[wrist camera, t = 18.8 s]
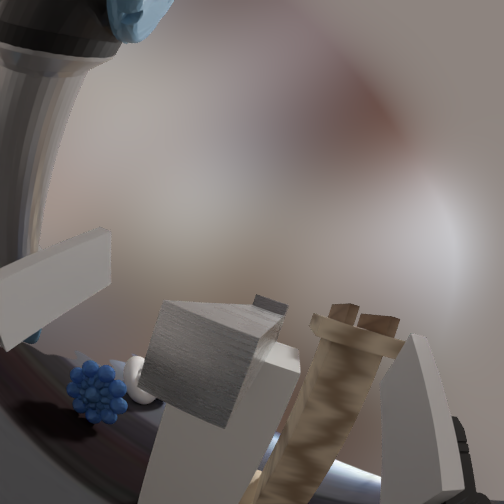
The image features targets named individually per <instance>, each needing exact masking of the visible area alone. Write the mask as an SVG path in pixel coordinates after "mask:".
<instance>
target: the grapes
mask: <svg viewBox="0 0 504 504" xmlns="http://www.w3.org/2000/svg"><path fill="white" fill-rule="evenodd" d="M70 378H71V380H72V381H73V382H71V383H69V384H68V385H67V393H68V395H69V396H71V397H73V398H76V399H74V400H73V403H72V404H73V408H74V410H75V411H76V412H78V413H85V412H86V413H85V416H86V419H87V420H88V421H89V422H91V423H93V424H96V423H99V422H100V421H101V420H102V421H103V422H104V423H106V424H113V423H115V422H116V420H117V414H123V413H124V412H126V410H127V407H128V406H127V402H126V401H125V400H124V399H123V398H121V397H123V396H124V395H125V394H126V392H127V386H126V385H125V383H124V382H123V381H121V380H114V378H115V371H114V369H113V368H112V367H111V366H109V365H103V366H101V367H100V368H99V366H98V365H97V363H96V362H94V361H92V360H88V361H86V362H85V363H83V365H82V368H80V367H76V368H74V369H72V370H71V372H70Z"/></svg>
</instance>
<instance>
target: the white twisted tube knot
mask: <svg viewBox="0 0 504 504" xmlns="http://www.w3.org/2000/svg"><path fill="white" fill-rule="evenodd" d="M144 360H145V359H143V358H142V357H140V356H133V357H131V358H130V359H129V360H128V361H127V362H126V365H125V368H124V374H123V377H124V383H125V385H126V386H127V393H128V395H129V396H130V397H131V399H132V400H134V401H135V402H137V403H139V404H149V403H151V402H152V401H154V400H155V399H156V397H154V396H153V395H151V394H149V393H147V392H145V391H144V390H143V391H142V390H141V389H140V388H138V387H137V385H138V382H139V378H140V374H141V371H142V367H143V364H144ZM157 399H158V398H157ZM159 400H160V399H159Z"/></svg>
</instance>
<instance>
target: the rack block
mask: <svg viewBox="0 0 504 504" xmlns="http://www.w3.org/2000/svg"><path fill="white" fill-rule="evenodd" d="M299 376H300V359H299V349H297V348H293V347H290V346H288V345H285V344H282V343H279V342H275V344H274V346H273V348H272V349H271V351H270V353H269V355H268V357H267V358H266V360H265V362H264V364H263V366H262V367H261V369H260V371H259V373H258V374H257V376H256V378H255V380H254V381H253V383H252V385H251V386H250V388H249V390H248V392H247V393H246V395H245V397H244V398H243V400H242V402H241V403H240V405H239V407H238V408H237V410H236V412H235V413H234V415H233V416H232V418H231V420H230V421H229V423H228V424H227V426H226V428H225V429H223V428H221V427H218V426H216V425H213V424H211V423H209V422H206V421H204V420H202V419H200V418H197V417H195V416H193V415H191V414H189V413H186V412H184V411H182V410H180V409H178V408H176V407H174V406H172V405H170V404H168V403H166V406H165V410H164V413H163V416H162V419H161V423H160V426H159V429H158V433H157V436H156V439H155V443H154V446H153V450H152V453H151V457H150V460H149V464H148V467H147V471H146V474H145V478H144V481H143V485H142V489H141V492H140V496H139V500H138V504H238V503H239V502H240V500H241V498H242V496H243V494H244V493H245V491H246V489H247V487H248V485H249V483H250V482H251V480H252V478H253V476H254V474H255V472H256V470H257V468H258V466H259V464H260V462H261V460H262V458H263V456H264V454H265V452H266V450H267V448H268V446H269V444H270V442H271V440H272V438H273V436H274V434H275V431H276V429H277V427H278V425H279V423H280V421H281V418H282V416H283V414H284V412H285V409H286V407H287V405H288V402H289V400H290V398H291V395H292V393H293V390H294V388H295V385H296V383H297V381H298V378H299Z"/></svg>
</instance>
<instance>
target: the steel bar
mask: <svg viewBox="0 0 504 504" xmlns="http://www.w3.org/2000/svg"><path fill="white" fill-rule="evenodd" d="M288 307H289V305H286V304H284V303H281V302H278V301H275V300H272V299H269V298H266V297H263V296H260V295H257V294H256V297H255V299H254V302H253V305H243V304H220V303H202V302H186V301H171V300H163V303H162V306H161V309H160V312H159V315H158V318H157V321H156V324H155V328H154V331H153V334H152V337H151V341H150V344H149V347H148V350H147V354H146V357H145V360H144V364H143V367H142V371H141V374H140V378H139V382H138V385H137V387H138V388H140V389H142V390H144V391H145V392H147V393H149V394H151V395H153V396H154V397H156V398H158V399H160V400H162V401H164V402H166V403H168V404H170V405H172V406H174V407H176V408H178V409H180V410H182V411H184V412H186V413H189V414H191V415H193V416H195V417H197V418H200V419H202V420H204V421H206V422H209V423H211V424H213V425H216V426H218V427H221V428H223V429H225V428H226V426H227V424H228V423H229V421H230V420H231V418H232V416H233V415H234V413H235V412H236V410H237V408H238V407H239V405H240V403H241V402H242V400H243V398H244V397H245V395H246V393H247V392H248V390H249V388H250V386H251V385H252V383H253V381H254V380H255V378H256V376H257V374H258V373H259V371H260V369H261V367H262V366H263V364H264V362H265V360H266V358H267V357H268V355H269V353H270V351H271V349H272V348H273V346H274V344H275V342H276V340H277V338H278V335H279V332H280V330H281V327H282V324H283V321H284V319H285V316H286V313H287V310H288Z"/></svg>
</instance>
